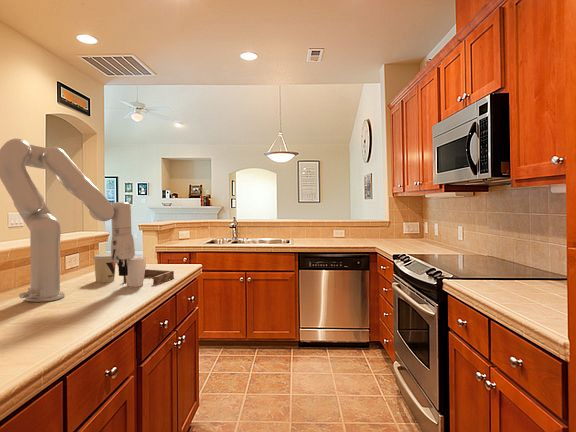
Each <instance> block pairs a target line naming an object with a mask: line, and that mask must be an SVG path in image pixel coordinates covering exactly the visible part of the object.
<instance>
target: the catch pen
mask: <svg viewBox="0 0 576 432" xmlns="http://www.w3.org/2000/svg"><path fill="white" fill-rule="evenodd" d="M174 273H175V271H174V270H163V269H146V268H145V274H144V278H153V282H152V284H153V286H157V285H159V283H160V284H163V283H164V282H167V280H168V281H170V280H172V278H173V279H174V278H175V277H174V276H175V275H174ZM169 279H170V280H169ZM123 283H125V284H127V283H126V276H123Z"/></svg>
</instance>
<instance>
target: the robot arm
mask: <svg viewBox="0 0 576 432" xmlns="http://www.w3.org/2000/svg"><path fill="white" fill-rule="evenodd" d="M26 167H29V168H35V169H40V170H41V169H42V170H48V171H50V173H51V174H52V175H53V176H54V178H55V179H57V180H58V182H59V184H61V185H62V186H63V187H64V188H65V190H66V191H67V192H69V193H70V194H71V195H72V196H75V197H76V198H77V199H78V200H79V201H80V202H81V203H83V204H84V205H85V207H86V208H87V209H88V213H89V215H90V216H91V218H92V219H93V220H97V221H100V222H108V221H110V220H111V240H110V241H111V242H110V254H111V258H112V259H113V260H114V261H113V263H116V265H117V268H118V276H119V277H124V276H126V275H128V263H129V260H131V259H132V257H136V256H135V255H136V252H135V241H134V236H133V233H132V232H133V231H132V208H131V203H130V202H124V201H121V202H120V201H117V202H116V201H115V202H111V201H109V200H108V199H107V197H106V196H105V195H104V194H103V193H102V192H101V190H99V188H97V186H95V185H94V184H93V182H92V181H91V180H90V179H89V178H88V177H86V176H87V175H85V174H84V173H83V171H82V170H81V169H80V168H79V167H78V166H77V164H76V163H75V162H74V161H73V160H72V159H71V157H70V156H69V155H68V154H67V153H66V152H65V151H64V150H63V149H62V148H60V147H58V146H49V147H44V146H37V145H35V144H34V145H33V144H29V142H27V140H25V139H21V138H12V139H9V140H7V141H6V142H5V143H3V145H2V146H1V148H0V181H1V183H2V184H3V186H4V187H5V189H6V192H7V193H8V194H9V196H10V197H11V199H12V201H13V206H14V208H15V210H16V211H17V212H18V214H19V215H20V217H21V219H22V220H23V221H24V223H25V225H26V227H27V228H28V230H29V231H30V239H29V241H30V244H29V245H30V247H29V250H30V251H29V255H30V256H29V257H30V287H29V288H27V291H26V292H21V293H19V296H18V297H19V298H20V299H25V301H27V302H30V303H42V302H52V301H57V300H60V299H63V298H65V292H62V291H61V248H60V247H61V237H62V236H61V235H62V228H61V223H60V222H59V219H57V217H55V216H54V215H53V214H52V211H50V208H49V207H48V205H47V204H46V202H45V199H44V196H43V194H42V193H41V192H40V191H39V189H38V188H37V187H36V184H35V183H34V182H33V180H32V178H31V176H30V174H29V172H28V171H27V168H26Z"/></svg>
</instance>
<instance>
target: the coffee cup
mask: <svg viewBox="0 0 576 432" xmlns="http://www.w3.org/2000/svg"><path fill="white" fill-rule="evenodd" d="M93 259H94V274H95V276H94V277H95V282H96V283H97V284H99V283H100V284H101V283H102V284H103V283H104V284H105V283H113V282H115V277H116V275H115V274H116V265H117V264H116V263H113V261H114V260H113V259H112V258H111V253H102V254H95V255H94V257H93Z"/></svg>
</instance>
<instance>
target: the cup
mask: <svg viewBox="0 0 576 432" xmlns="http://www.w3.org/2000/svg"><path fill="white" fill-rule="evenodd" d="M146 267H147V260H146V257H144V256H142V257H141V256H134V257H132V259H131V260H129V263H128V275H126V283H125V284H126V287H129V288H131V287H132V288H137V287H141V286H143V285H144V282H145V281H144V279H145V277H144V274H145V269H146Z"/></svg>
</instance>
